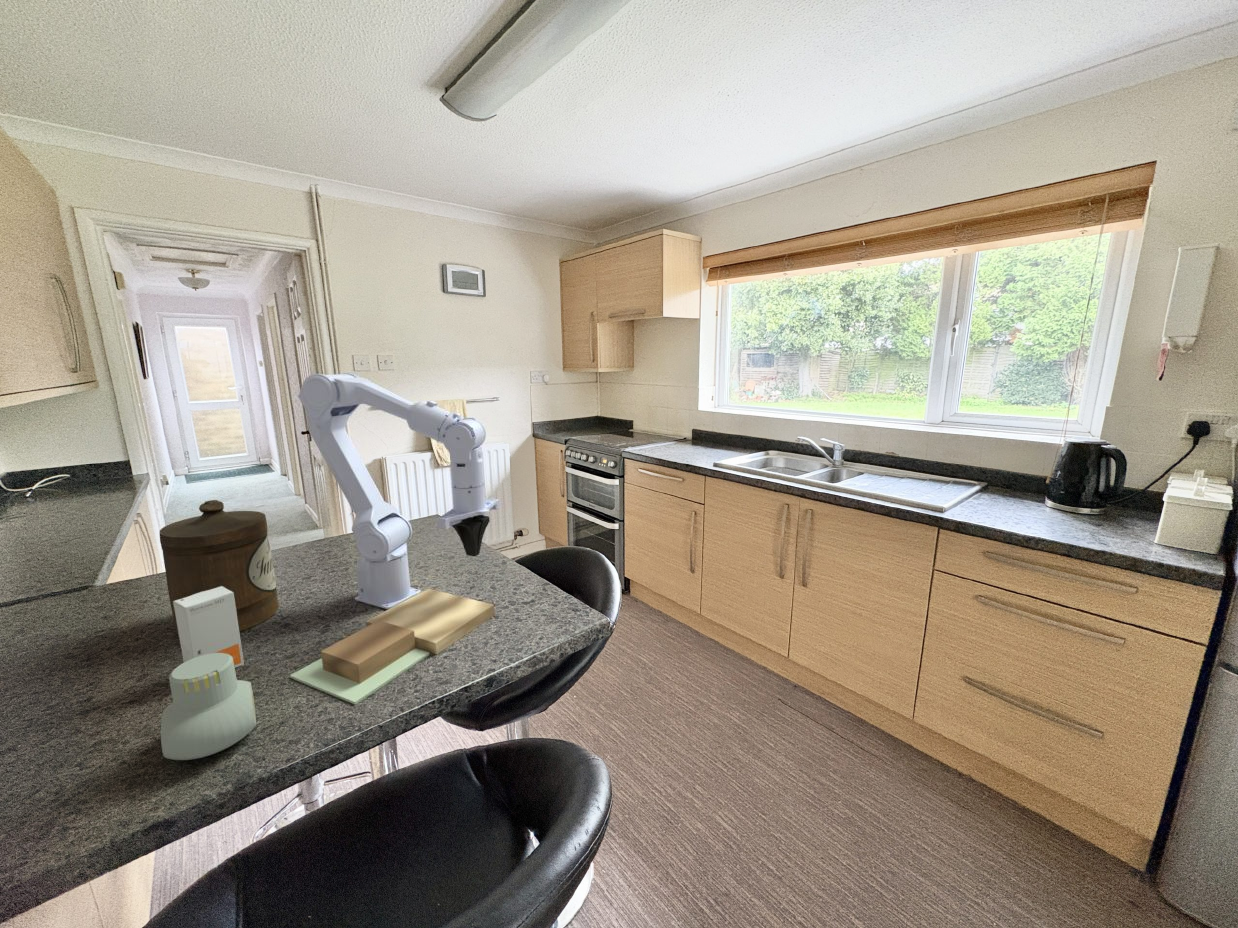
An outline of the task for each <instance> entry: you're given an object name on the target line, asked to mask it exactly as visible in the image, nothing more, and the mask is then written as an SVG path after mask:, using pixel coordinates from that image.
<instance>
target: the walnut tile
mask: <svg viewBox="0 0 1238 928" xmlns="http://www.w3.org/2000/svg"><path fill="white" fill-rule="evenodd" d="M415 648H416V646H415V635H414V631H413V630H410V629H406V628H403V627H399V626H396V625H393V624H389V623H386V622H383V621H379V620H378V621H376V622H375V623H373V624H371V625H369V626H367V627H366V626H365V627H364V628H362V629H360V630H358V631H356V632H354V633H352V634H350V635H349V636H346V637H345V638H342V639H341V640H339V641H337V642H335V643H333V644H331V645H330V646H328V647H326V648H323V649H322V650H320V656H321V658H322V664H323V670H326V671H328V672H331V673H333V674H336V675H339V676H341V677H344V678H347V679H349V680H352V681H354V682H357V683H362V682H364V681H365V680H367V679H368V678H370V677H371V676H373V675H375V674H376V673H378V672H379V671H381V670H382V669H384V668H385V667H387V666H389V665H390V664H392V663H393V662H395V661H396V660H398V659H399V658H401V657H403V656H404V655H406V654H407V653H409V652H410V651H412V650H414V649H415Z"/></svg>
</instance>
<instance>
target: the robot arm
mask: <svg viewBox="0 0 1238 928" xmlns="http://www.w3.org/2000/svg"><path fill="white" fill-rule="evenodd" d="M297 397H298V398H299V401H300V403H301V404H302V406H303V408H304V409H305V417H306V423H307V430H308V432H309V434H310V435H311V438H312V440H313V442H314V443H315V445H316V447H317V448H318V450H319V452H320V454H321V456H322V457H323V459H324V461H325V463H326V464H327V466H328V468H329V470H330V472H331V473H332V475H333V477H334V479H335V480H336V482H337V484H338V486H339V488H340V490H341V492H342V493H343V496H344V497H345V499H346V500H347V503H348V504H349V506H350V507H351V509H352V511H353V513H354V515H355V516H354V520H353V523H352V526H351V531H352V533H353V535H354V537H355V538H354V539H355V546H356V547H355V548H356V549H357V552H358V553H359V555H360V556H359V557H358V559H357V561H356V565H355V574H356V582H357V583H356V584H357V593H358V595H357V596H355V597H354V600H355V601H358V602H360V603H361V602H362V603H364V604H368V605H371V606H374V607H378V608H383V609H385V610H388V609H390V608H392V607H394V606H396V605H398V604H400V603H402V602H404V601H406V600H408V599H410V598H412V597H414V596H415V595H417V594H419V593H421V592H422V591H421V590H420V589H418V588H417V589H416V588H413V587H411V579H410V569H409V560H408V559H409V557H408V543H407V542H409V540H410V539H411V538H412V535H413V529H412V525H411V522H410V521H409V520H408V519H407V518H406V517H404V516H403V515H402V514H401V513H400V512H399V510H398V508H397V507H396V506H394V505H392V504H391V503H388V502H386V501H385V500H384V498H383V497H382V494H381V492H380V490H379V489H378V487H377V486H376V484H375V481H374V479H372V476H371V474H370V473H369V470H368V469H367V466H366V465H365V463H364V462H363V460H362V458H361V456H360V454H359V452H358V450H357V448H356V446H355V445H354V443H353V441H352V439H351V437H350V436H349V434H348V432H347V430H346V426H347V423H348V420H349V418H350V416H352V414H354V412H355V411H356V409H358V407H359V406H360V405H367V406H369V407H371V408H375V409H376V410H379V411H382V412H384V413H388V414H390V415H392V416H394V417H398V418H400V419H403V420H405V421H406V423H407V426H408V427H409V429H410V430H411V431H414V432H416V433H419V434H420V435H423V436H424V437H427V438H429V439H431V440H434V441H436V442H438V443H440V444H443V446H444V448H445V449H446V450H447V451H448V453H449V458H450V459H449V460H450V477H451V490H452V491H451V492H452V503H453V504H452V505H453V508H451V509H450V510H449V511H447V512H445V513H444V514H442V515H441V516H438V517H436V527H437V529H438V530H439V529H440V530H448V529H450V528H451V527H452V528H453V529H454V530H455V531H456V534H457V535H458V537H459V538H460V542H461V543H462V547H463V548H464V551H465V554H466V556H470V557H477V556H478V555H480V552H481V546H482V543H483V542H482V541H483V539H484V535H485V532H486V529H487V527H488V525H489V523H490V522H491V521H490V520H491V519H490V516H489V515H488V514H489V513H490V512H491V511H492V510H495V511H496V510H498V509H500V499H499V498H493V497H490V498H487V499H486V494H485V493H486V492H485V477H484V475H485V474H484V460H483V446H482V445H483V444H484V442H485V440H486V435H487V433H486V429H485V427H484V426H483V424H482V423H481V422H480V421H478V420H477V419H475V418H474V417H465V418H462V414H461V413H459V412H454V413H453V412H451V411H448V410H446V409H444V408H441V407H439V406H438V402H436V401H434V400H427V401H426V400H420V401H418V402H416V403H414V402H412V401H410V400H409V399H406V398H404V397H402V396H400V395H398V394H396V393H394V392H392V391H390V390H388V389H386V388H384V387H382V386H380V385H378V384H376V383H374V382H372V381H370V380H369V379H367V378H366V377H365V378H364V377H362V376H357V375H356V374H354V373H350V372H346V373H345V372H344V373H340V374H339V373H338V374H334V373H333V374H322V373H313V374H311V375H308V376H307V377H306V378H305V379H304V381H303V383H302V385H301V387H300V391H299V393H298V396H297Z"/></svg>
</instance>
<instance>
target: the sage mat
mask: <svg viewBox="0 0 1238 928" xmlns="http://www.w3.org/2000/svg"><path fill="white" fill-rule="evenodd" d="M430 654H431V653H430V652H427V651H424V650H421V649H417V648H415V649H414V650H412V651H410V652H409V653H407V654H406V655H404V656H403V657H401V658H399V659H398V660H396V661H395V662H393V663H392V664H390V665H389V666H387V667H385V668H384V669H382V670H381V671H379V672H378V673H376V674H375V675H373V676H371V677H370V678H368V679H367V680H365V681H364V682H362V683H357V682H354V681H352V680H349V679H347V678H344V677H341V676H339V675H336V674H333V673H331V672H328V671H326V670H323V664H322V657H321V658H319V659H317V660H315V661H313V662H311V663H309V664H308V665H306V666H304V667H303V668H301V669H299V670H297V671H295V672H293V673H291V674H290V675H289V678H290V679H291V680H292V679H293V680H294V681H296V682H299V683H302V684H304V685H306V686H309V687H312V688H314V689H316V690H319V691H321V692H322V693H323V692H324V693H326V694H329V695H331V696H333V697H336V698H338V699H340V700H343V701H345V702H348V703H351V704H352V705H355V706H356V705H357V704H359V703H360V702H362V701H364V700H365V699H366V698H368V697H370V696H371V695H373V694H374V693H375V692H377V691H378V690H379V689H381V688H383V687H384V686H385V685H387V684H389V683H391V682H392V681H393V680H394V679H396V678H398V677H399V676H400V675H402V674H404V673H405V672H406V671H409V669H411V668H412V667H414V666H415V665H418V663H420V662H421V661H422V660H424V659H426V658H427V657H429V656H430Z"/></svg>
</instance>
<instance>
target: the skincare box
mask: <svg viewBox="0 0 1238 928" xmlns="http://www.w3.org/2000/svg"><path fill="white" fill-rule="evenodd" d="M173 604H174V609H175V615H176V621H177V627H178V633H179V635H178V637H179V643H180V648H181V649H180V650H181V654H182V659H183V660H182V661H183V663H184V662H186V661H188V660H191V659H193V658H196V657H199V656H202V655H206V654H211V653H225V654H228V655H230V656H232V658H233V662H234V668H235V669H236V668H240V667H242V666H244V664H245V662H244V653H243V648H242V641H241V634H240V632H239V626H238V620H237V613H236V606H235V599H234V593H233V592H232V591H230V590H228V589H226V588H224V587H223V586H221V587H217V588H214V589H211V590H208V591H203V592H200V593H196V594H194V595H191V596H188V597H185V598H182V599H179V600H175V601H173Z"/></svg>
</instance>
